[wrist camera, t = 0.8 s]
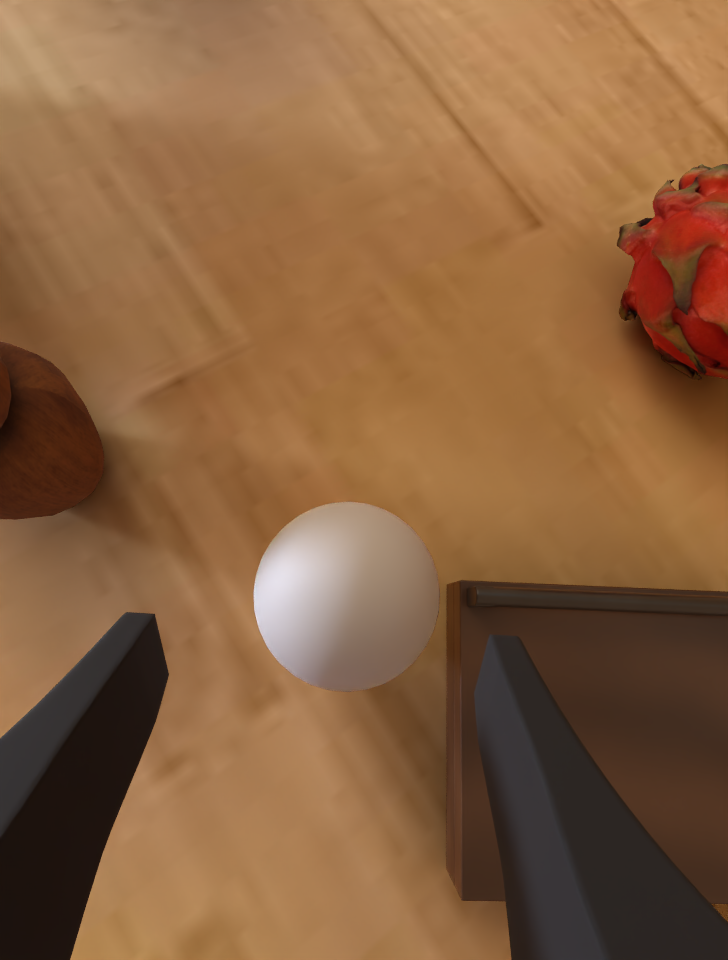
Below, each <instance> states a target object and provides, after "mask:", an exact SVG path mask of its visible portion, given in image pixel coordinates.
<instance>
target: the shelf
mask: <svg viewBox="0 0 728 960" xmlns="http://www.w3.org/2000/svg"><path fill="white" fill-rule="evenodd" d="M489 634H492V635H509V636H518V637H519V638H520V639H521V640H522V642H523V644H524V646H525V647H526V649H527V651H528V653H529V655H530V657H531V659H532V661H533V662H534V664H535V666H536V668H537V670H538V671H539V673H540V675H541V677H542V678H543V680H544V682H545V684H546V685H547V687H548V689H549V690H550V692H551V694H552V696H553V697H554V699H555V701H556V702H557V704H558V706H559V707H560V709H561V710H562V712H563V714H564V715H565V717H566V718H567V720H568V721H569V723H570V725H571V726H572V728H573V729H574V731H575V732H576V734H577V735H578V737H579V739H580V740H581V742H582V743H583V745H584V746H585V748H586V749H587V751H588V752H589V754H590V755H591V757H592V758H593V759H594V761H595V762H596V764H597V765H598V766H599V768H600V769H601V771H602V772H603V774H604V775H605V776H606V778H607V779H608V781H609V782H610V783H611V785H612V786H613V787H614V789H615V790H616V791H617V793H618V794H619V796H620V797H621V798H622V799H623V801H624V802H625V803H626V805H627V806H628V807H629V809H630V810H631V811H632V812H633V814H634V815H635V816H636V817H637V819H638V820H639V821H640V823H641V824H642V825H643V826H644V828H645V829H646V830H647V831H648V833H649V834H650V835H651V836H652V837H653V839H654V840H655V841H656V842H657V843H658V845H659V846H660V847H661V848H662V849H663V851H664V852H665V853H666V854H667V855H668V857H669V858H670V859H671V860H672V861H673V862H674V864H675V865H676V866H677V867H678V868H679V869H680V870H681V872H682V873H683V874H684V875H685V876H686V877H687V878H688V879H689V880H690V881H691V883H692V884H693V885H694V886H695V887H696V888H697V889H698V890H699V891H700V892H701V894H702V895H703V896H704V897H705V898H706V899H707V900H708V901H709V902H710V903H711V904H728V592H720V591H697V590H674V589H650V588H627V587H604V586H580V585H557V584H534V583H510V582H487V581H464V580H461V581H457V582H454V583H450V584H447V793H446V868H447V871H448V873H449V875H450V877H451V879H452V881H453V883H454V885H455V887H456V889H457V891H458V894H459V896H460V898H461V900H463V901H506V899H505V889H504V880H503V873H502V867H501V860H500V854H499V849H498V843H497V838H496V833H495V828H494V823H493V818H492V812H491V807H490V802H489V797H488V792H487V786H486V781H485V776H484V771H483V765H482V760H481V755H480V749H479V744H478V735H477V724H476V712H475V698H474V691H475V688H476V684H477V680H478V676H479V672H480V668H481V665H482V661H483V657H484V653H485V649H486V645H487V642H488V638H489Z"/></svg>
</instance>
